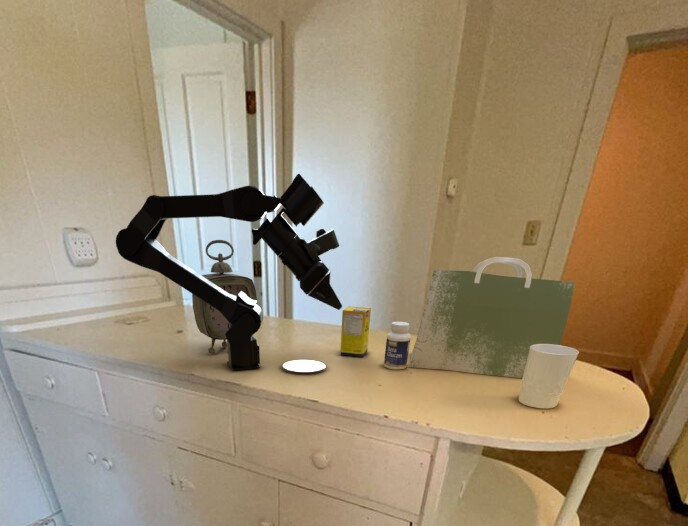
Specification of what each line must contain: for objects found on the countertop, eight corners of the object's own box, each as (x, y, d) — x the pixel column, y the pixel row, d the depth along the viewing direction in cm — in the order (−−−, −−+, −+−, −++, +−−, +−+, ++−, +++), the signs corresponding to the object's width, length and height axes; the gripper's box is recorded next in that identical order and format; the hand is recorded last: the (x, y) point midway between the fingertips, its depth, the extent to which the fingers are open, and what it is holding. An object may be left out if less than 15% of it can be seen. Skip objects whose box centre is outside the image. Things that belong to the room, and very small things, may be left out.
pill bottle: (382, 369, 99) (387, 324, 94) (384, 362, 104) (389, 320, 98) (406, 370, 98) (412, 326, 93) (407, 364, 103) (413, 321, 97)
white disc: (291, 376, 94) (291, 373, 93) (277, 364, 101) (277, 361, 101) (332, 372, 97) (332, 369, 96) (315, 360, 105) (315, 358, 104)
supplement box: (367, 352, 112) (371, 307, 106) (362, 357, 107) (366, 311, 101) (345, 350, 114) (348, 305, 108) (339, 355, 109) (342, 309, 103)
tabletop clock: (207, 356, 107) (194, 240, 93) (195, 348, 113) (182, 239, 100) (259, 349, 113) (254, 240, 99) (245, 342, 119) (239, 239, 106)
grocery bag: (544, 364, 104) (578, 256, 91) (555, 381, 93) (596, 260, 80) (411, 353, 111) (426, 251, 99) (407, 367, 100) (423, 255, 88)
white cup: (507, 395, 84) (521, 343, 79) (545, 395, 85) (561, 343, 80) (528, 410, 78) (545, 354, 72) (568, 409, 78) (589, 354, 73)
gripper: (319, 211, 76) (374, 280, 82) (314, 213, 91) (360, 271, 98) (276, 261, 80) (331, 323, 86) (278, 254, 96) (325, 308, 102)
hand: (338, 304), depth 93 cm, fingers open, 9 cm apart
